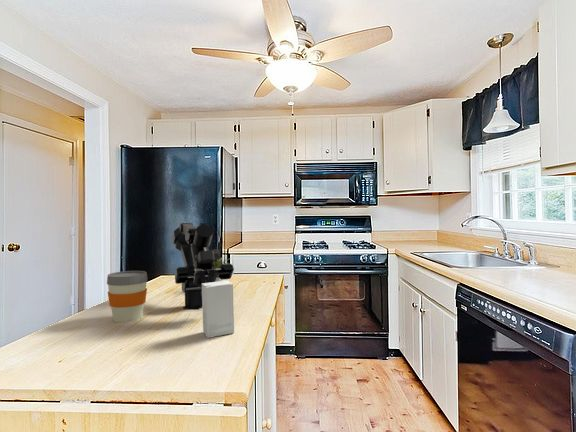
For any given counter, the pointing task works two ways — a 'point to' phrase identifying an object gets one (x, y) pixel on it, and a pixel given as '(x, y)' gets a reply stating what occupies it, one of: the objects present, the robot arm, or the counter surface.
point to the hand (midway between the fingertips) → (209, 294)
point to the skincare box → (218, 308)
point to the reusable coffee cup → (127, 294)
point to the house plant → (218, 267)
